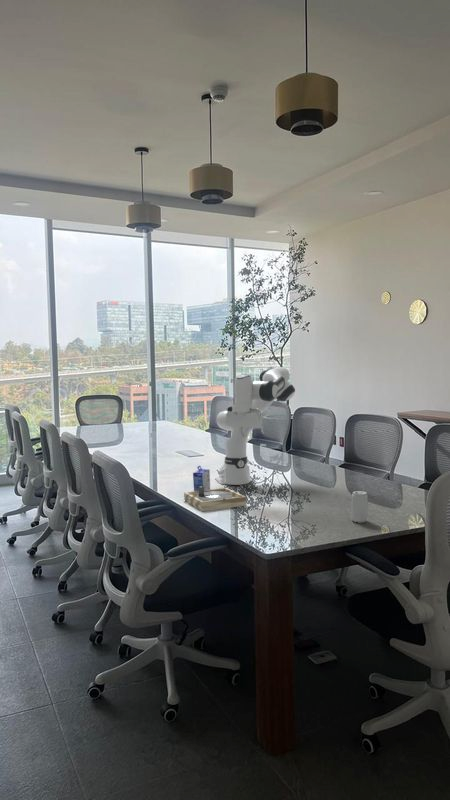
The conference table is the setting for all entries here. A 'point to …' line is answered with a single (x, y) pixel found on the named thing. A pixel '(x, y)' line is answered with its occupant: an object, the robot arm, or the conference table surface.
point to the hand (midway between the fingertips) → (243, 436)
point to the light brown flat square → (215, 504)
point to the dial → (212, 494)
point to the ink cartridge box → (201, 478)
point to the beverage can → (359, 506)
